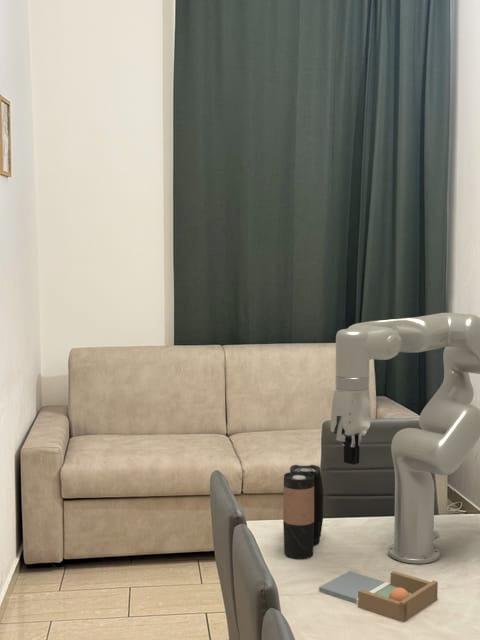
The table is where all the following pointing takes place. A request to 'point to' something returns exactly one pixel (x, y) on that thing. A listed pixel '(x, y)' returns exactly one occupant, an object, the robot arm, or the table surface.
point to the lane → (383, 593)
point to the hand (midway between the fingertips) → (351, 462)
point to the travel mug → (298, 515)
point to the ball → (398, 594)
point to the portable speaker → (317, 497)
